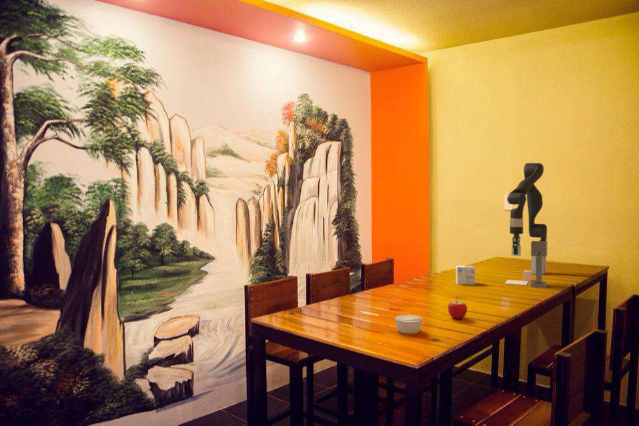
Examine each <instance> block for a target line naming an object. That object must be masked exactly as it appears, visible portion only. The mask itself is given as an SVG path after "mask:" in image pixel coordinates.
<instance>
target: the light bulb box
mask: <svg viewBox="0 0 639 426" xmlns="http://www.w3.org/2000/svg"><path fill="white" fill-rule="evenodd" d="M455 283H456V285H460V286H461V285H463V286H466V285H467V286H469V285H473V286H474V285H476V267H475V266H474V265H455Z"/></svg>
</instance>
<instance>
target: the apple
mask: <svg viewBox="0 0 639 426" xmlns="http://www.w3.org/2000/svg"><path fill="white" fill-rule="evenodd" d="M455 297H456V299H458V297H457V295H456V296H455ZM467 306H468V305H467V304H466V302H464V301H460V300H451V301H450V302H448V304H447V311H448V314H449V316H450V317H451V318H453V319H455V320H460V319H463V318H465V316H466V315H467V313H468V307H467Z"/></svg>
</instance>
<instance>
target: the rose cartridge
mask: <svg viewBox="0 0 639 426" xmlns="http://www.w3.org/2000/svg"><path fill="white" fill-rule="evenodd" d="M522 277H523V280H522V281H529V282H530V281H531V282H532V281H533V274H532V271H531V270H526V269H525V270H523V276H522Z"/></svg>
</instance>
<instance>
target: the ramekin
mask: <svg viewBox="0 0 639 426" xmlns="http://www.w3.org/2000/svg"><path fill="white" fill-rule="evenodd" d="M394 321H395V324H396V329H397V331H398V332H399V333H402V334H412V335H414V334H417V333H419V332H421V328H422V323H423V318H422V317H421V316H419V315H413V314H402V315H397V316H395V318H394Z"/></svg>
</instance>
